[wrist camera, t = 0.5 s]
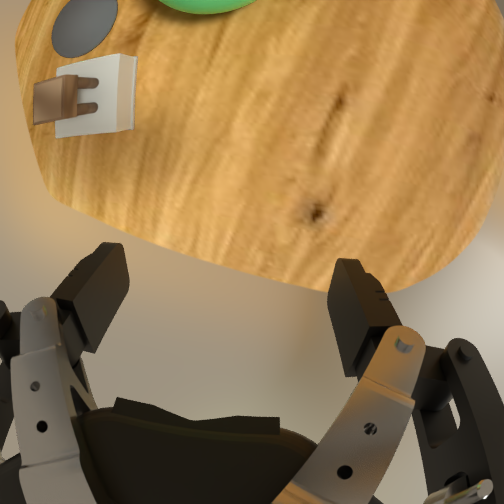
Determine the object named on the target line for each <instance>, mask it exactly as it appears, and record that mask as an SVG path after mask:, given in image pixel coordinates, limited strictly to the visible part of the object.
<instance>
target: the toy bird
mask: <svg viewBox="0 0 504 504" xmlns="http://www.w3.org/2000/svg"><path fill="white" fill-rule="evenodd" d="M159 1H160V2H162V3H163V4H165V5H167V6H169V7H171V8H173V9H176V10H179V11H182V12H186V13H193V14H216V13H223V12H228V11H232V10H235V9H238V8H241V7H244V6H246V5H248V4H251V3H253V2H254V1H256V0H159Z"/></svg>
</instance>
